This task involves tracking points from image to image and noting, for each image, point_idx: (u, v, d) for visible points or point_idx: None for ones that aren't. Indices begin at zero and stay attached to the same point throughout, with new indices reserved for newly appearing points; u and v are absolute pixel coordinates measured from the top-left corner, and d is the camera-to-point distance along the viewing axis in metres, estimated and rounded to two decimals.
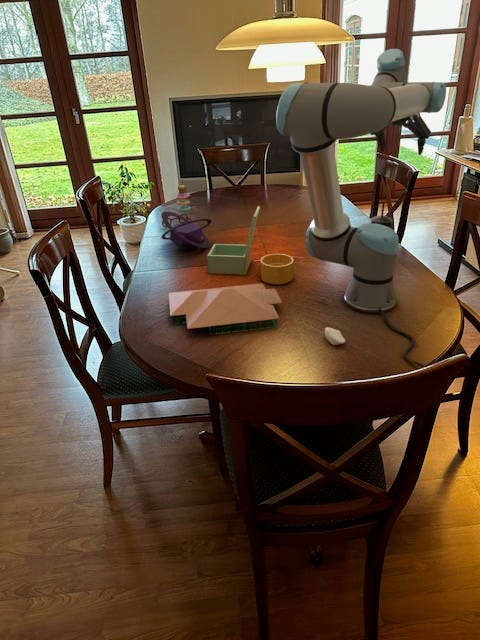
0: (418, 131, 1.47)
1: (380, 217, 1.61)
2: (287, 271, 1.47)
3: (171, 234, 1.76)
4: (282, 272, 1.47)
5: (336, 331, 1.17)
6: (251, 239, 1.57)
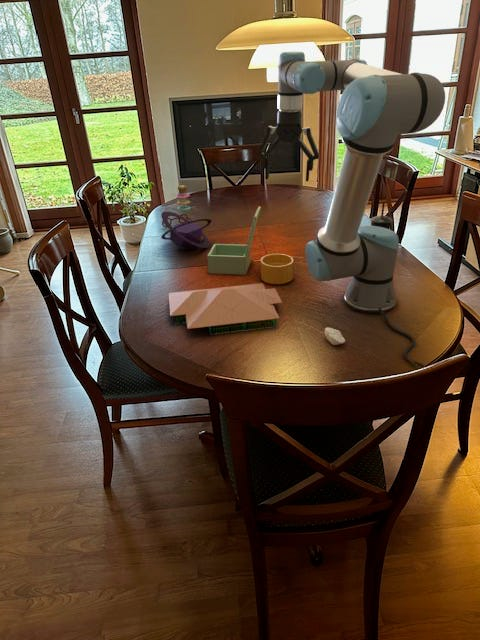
0: (308, 151, 1.42)
1: (380, 217, 1.61)
2: (287, 271, 1.47)
3: (171, 234, 1.76)
4: (282, 272, 1.47)
5: (336, 331, 1.17)
6: (251, 239, 1.57)
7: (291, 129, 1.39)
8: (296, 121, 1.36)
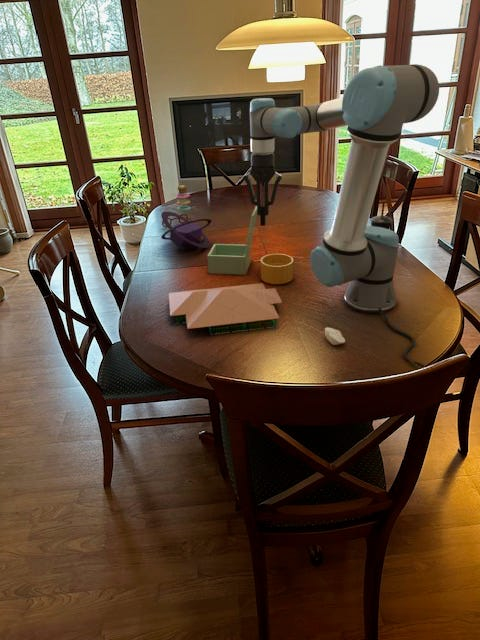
0: (268, 197, 1.47)
1: (380, 217, 1.61)
2: (287, 271, 1.47)
3: (171, 234, 1.76)
4: (282, 272, 1.47)
5: (336, 331, 1.17)
6: (250, 239, 1.57)
7: (267, 166, 1.42)
8: (269, 163, 1.40)
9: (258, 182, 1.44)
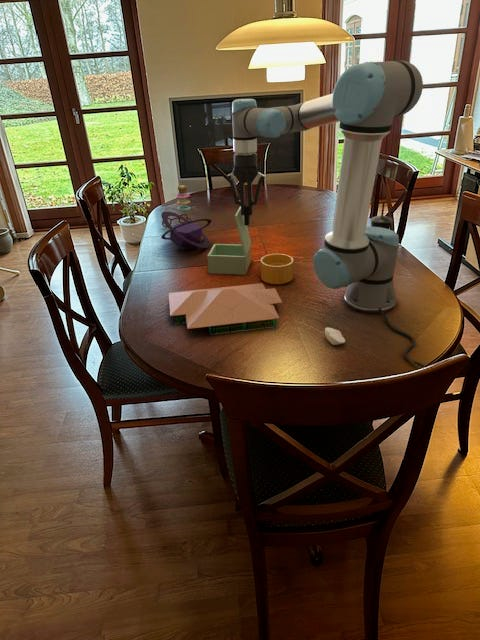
0: (251, 197, 1.48)
1: (380, 217, 1.61)
2: (287, 271, 1.47)
3: (171, 234, 1.76)
4: (282, 272, 1.47)
5: (336, 331, 1.17)
6: (246, 238, 1.57)
7: (250, 166, 1.43)
8: (252, 163, 1.41)
9: (241, 182, 1.45)
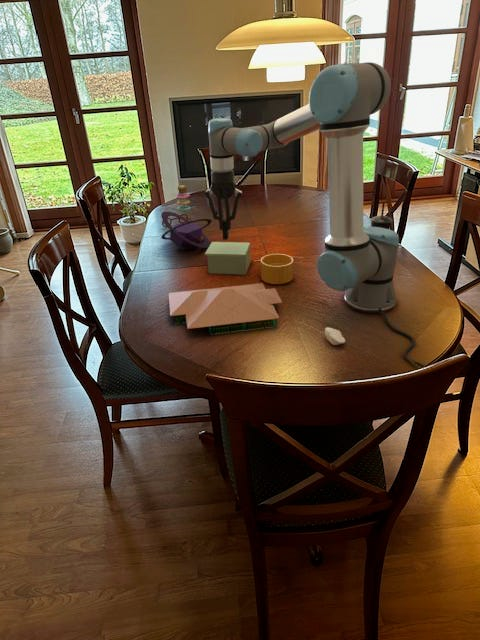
0: (229, 212, 1.52)
1: (380, 217, 1.61)
2: (287, 271, 1.47)
3: (171, 234, 1.76)
4: (282, 272, 1.47)
5: (336, 331, 1.17)
6: (237, 247, 1.59)
7: (227, 183, 1.47)
8: (228, 180, 1.45)
9: (219, 198, 1.49)
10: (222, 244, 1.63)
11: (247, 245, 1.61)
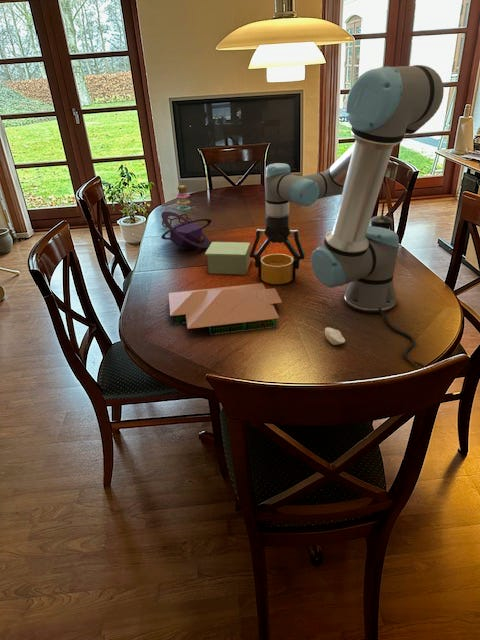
0: (295, 251, 1.47)
1: (380, 217, 1.61)
2: (287, 271, 1.47)
3: (171, 234, 1.76)
4: (282, 272, 1.47)
5: (336, 331, 1.17)
6: (237, 247, 1.59)
7: (280, 231, 1.44)
8: (284, 225, 1.41)
9: (268, 241, 1.45)
10: (222, 244, 1.63)
11: (247, 245, 1.61)
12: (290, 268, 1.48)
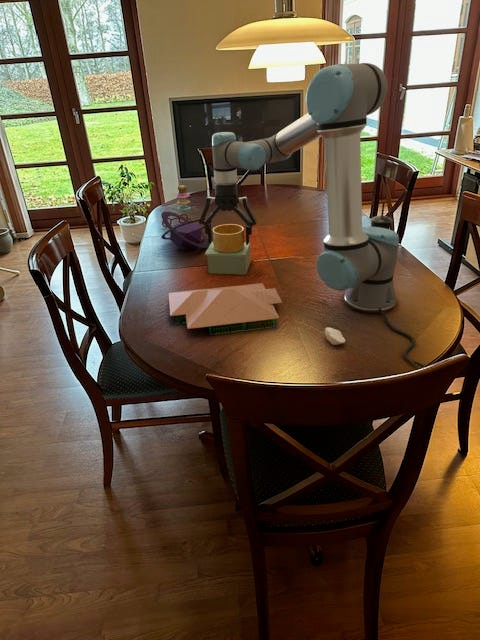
0: (246, 218, 1.52)
1: (380, 217, 1.61)
2: (237, 239, 1.53)
3: (171, 234, 1.76)
4: (232, 240, 1.52)
5: (336, 331, 1.17)
6: None
7: (228, 199, 1.49)
8: (232, 193, 1.46)
9: (218, 208, 1.51)
10: None
11: (247, 245, 1.61)
12: (240, 236, 1.54)
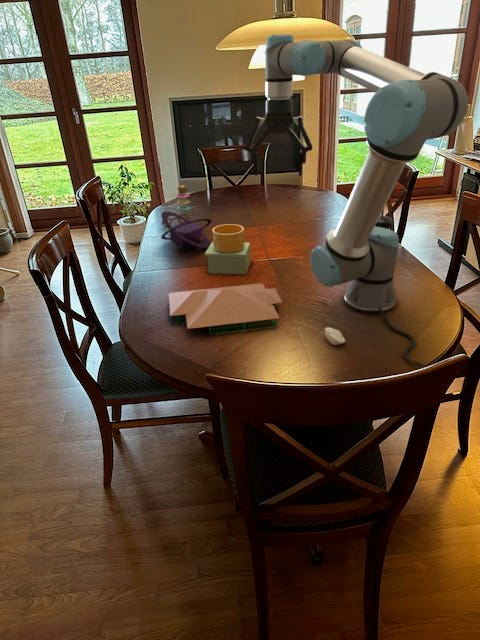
0: (300, 142, 1.32)
1: (380, 217, 1.61)
2: (237, 239, 1.53)
3: (171, 234, 1.76)
4: (232, 240, 1.52)
5: (336, 331, 1.17)
6: None
7: (281, 119, 1.28)
8: (287, 109, 1.26)
9: (268, 131, 1.30)
10: None
11: (247, 245, 1.61)
12: (240, 236, 1.54)
